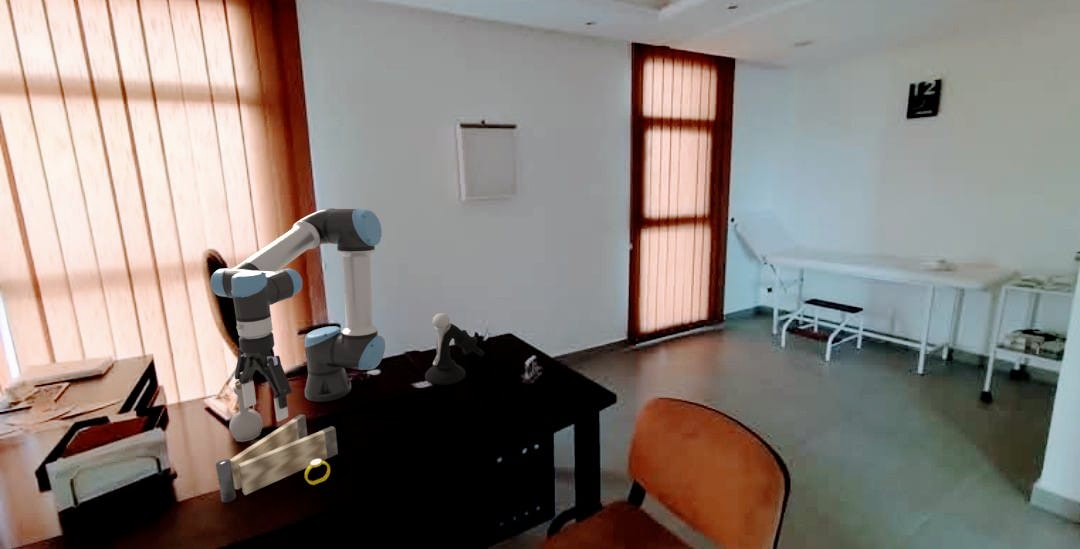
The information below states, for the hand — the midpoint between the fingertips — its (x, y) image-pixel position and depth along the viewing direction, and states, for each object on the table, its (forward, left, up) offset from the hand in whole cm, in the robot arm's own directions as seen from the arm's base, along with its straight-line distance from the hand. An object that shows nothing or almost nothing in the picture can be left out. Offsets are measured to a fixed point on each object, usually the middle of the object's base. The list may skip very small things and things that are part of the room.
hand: (266, 412), depth 131 cm
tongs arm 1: (-4, +3, -17) cm, 18 cm away
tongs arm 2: (+4, +3, -17) cm, 18 cm away
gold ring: (+13, +4, -18) cm, 23 cm away
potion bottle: (-24, +7, -18) cm, 31 cm away
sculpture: (+2, +73, -18) cm, 75 cm away
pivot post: (0, -12, -18) cm, 21 cm away
